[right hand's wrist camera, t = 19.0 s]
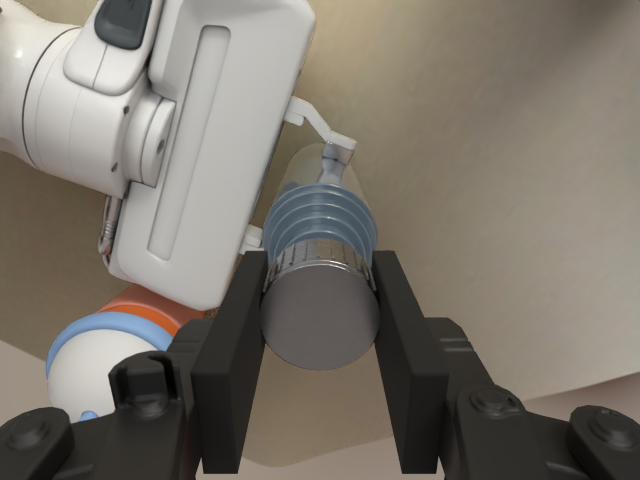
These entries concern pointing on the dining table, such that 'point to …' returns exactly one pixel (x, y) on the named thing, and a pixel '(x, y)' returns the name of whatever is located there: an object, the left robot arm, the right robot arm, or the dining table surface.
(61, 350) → the cup with straw
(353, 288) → the cap
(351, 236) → the bottle
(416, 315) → the right robot arm
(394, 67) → the dining table surface
